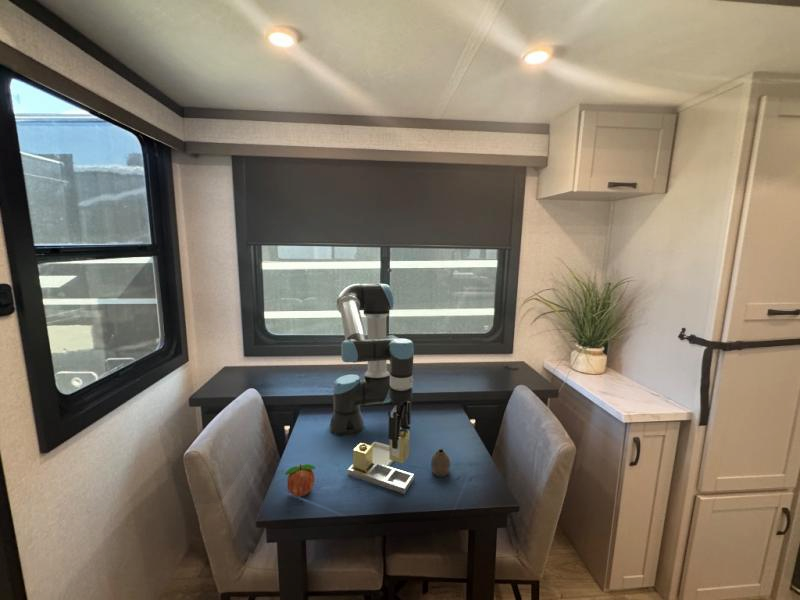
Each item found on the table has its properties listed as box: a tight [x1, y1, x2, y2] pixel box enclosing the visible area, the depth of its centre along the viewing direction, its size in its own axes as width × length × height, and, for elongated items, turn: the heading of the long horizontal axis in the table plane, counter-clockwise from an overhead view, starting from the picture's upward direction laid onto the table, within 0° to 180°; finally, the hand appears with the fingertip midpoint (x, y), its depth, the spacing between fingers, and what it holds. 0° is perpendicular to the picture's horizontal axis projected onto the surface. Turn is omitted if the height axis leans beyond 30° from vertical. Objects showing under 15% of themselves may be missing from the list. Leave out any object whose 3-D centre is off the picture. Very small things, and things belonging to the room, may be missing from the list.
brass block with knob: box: [352, 442, 373, 473], centre depth 123 cm, size 5×5×10 cm
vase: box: [430, 448, 451, 477], centre depth 123 cm, size 7×7×9 cm
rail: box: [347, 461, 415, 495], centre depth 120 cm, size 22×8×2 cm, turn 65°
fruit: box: [284, 464, 316, 498], centre depth 112 cm, size 9×10×10 cm
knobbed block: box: [389, 429, 411, 464], centre depth 116 cm, size 5×5×10 cm
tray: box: [369, 441, 394, 467], centre depth 133 cm, size 12×12×2 cm
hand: (399, 451), depth 116 cm, fingers closed on knobbed block, 5 cm apart
